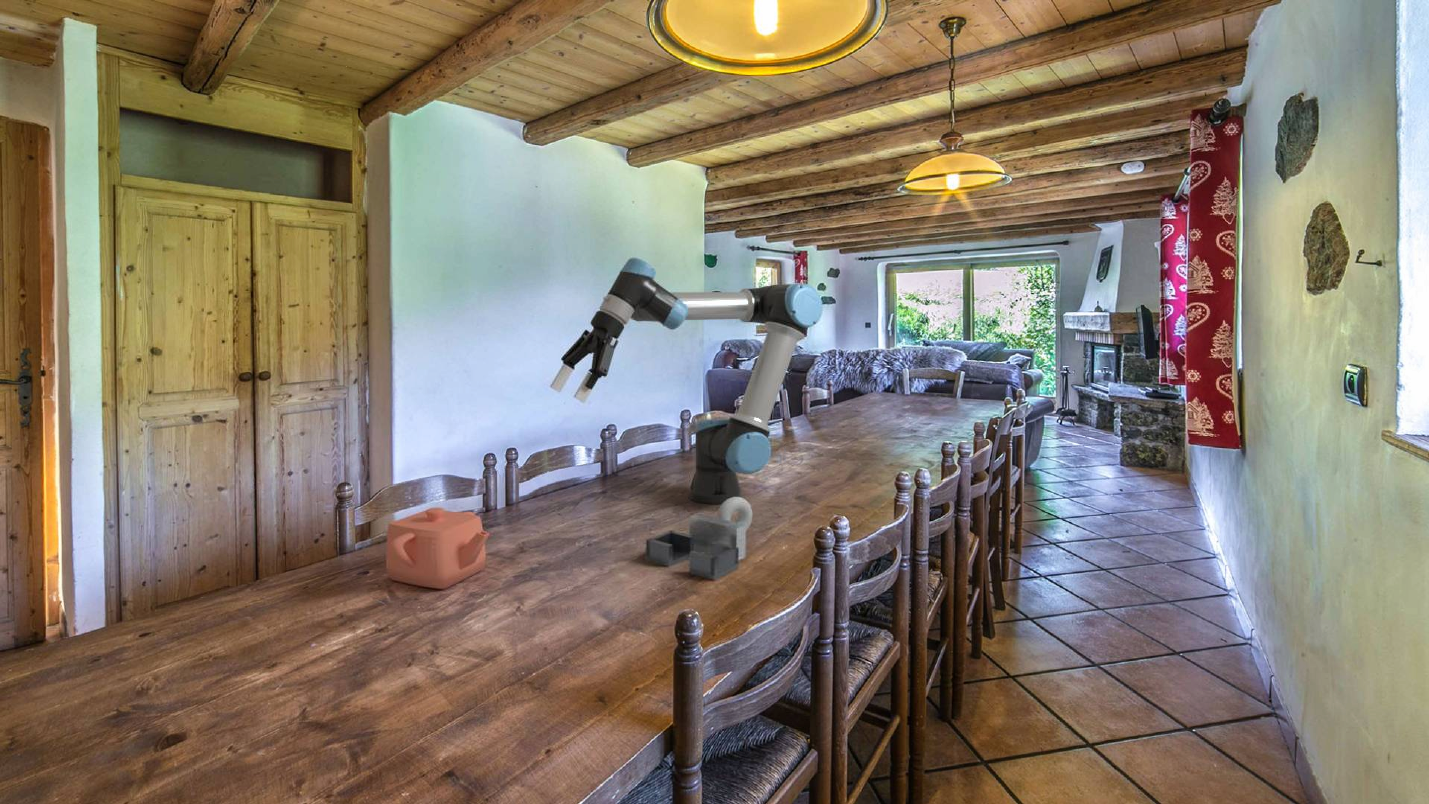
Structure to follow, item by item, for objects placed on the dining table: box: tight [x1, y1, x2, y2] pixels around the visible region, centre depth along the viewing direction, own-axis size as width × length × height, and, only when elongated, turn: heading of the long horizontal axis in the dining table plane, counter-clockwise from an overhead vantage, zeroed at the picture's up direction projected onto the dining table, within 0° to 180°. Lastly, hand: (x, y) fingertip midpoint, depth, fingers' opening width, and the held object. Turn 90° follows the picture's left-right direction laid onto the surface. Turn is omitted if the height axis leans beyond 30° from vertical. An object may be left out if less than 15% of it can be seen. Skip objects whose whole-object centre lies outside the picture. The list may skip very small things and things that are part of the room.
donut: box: [715, 496, 753, 532], centre depth 162 cm, size 10×3×10 cm, turn 125°
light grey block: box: [688, 513, 747, 561], centre depth 152 cm, size 4×13×8 cm, turn 53°
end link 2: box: [689, 542, 740, 582], centre depth 141 cm, size 8×6×4 cm
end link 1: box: [645, 530, 695, 568], centre depth 148 cm, size 8×6×4 cm
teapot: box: [385, 507, 490, 590], centre depth 135 cm, size 20×22×14 cm
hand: (566, 394), depth 159 cm, fingers open, 13 cm apart
